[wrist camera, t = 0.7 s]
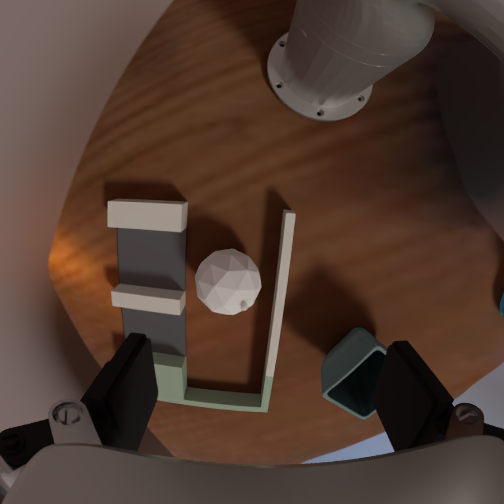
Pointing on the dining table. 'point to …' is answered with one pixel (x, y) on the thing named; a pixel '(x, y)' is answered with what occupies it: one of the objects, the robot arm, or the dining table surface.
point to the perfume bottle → (502, 305)
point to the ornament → (227, 281)
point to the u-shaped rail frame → (178, 297)
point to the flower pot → (353, 372)
